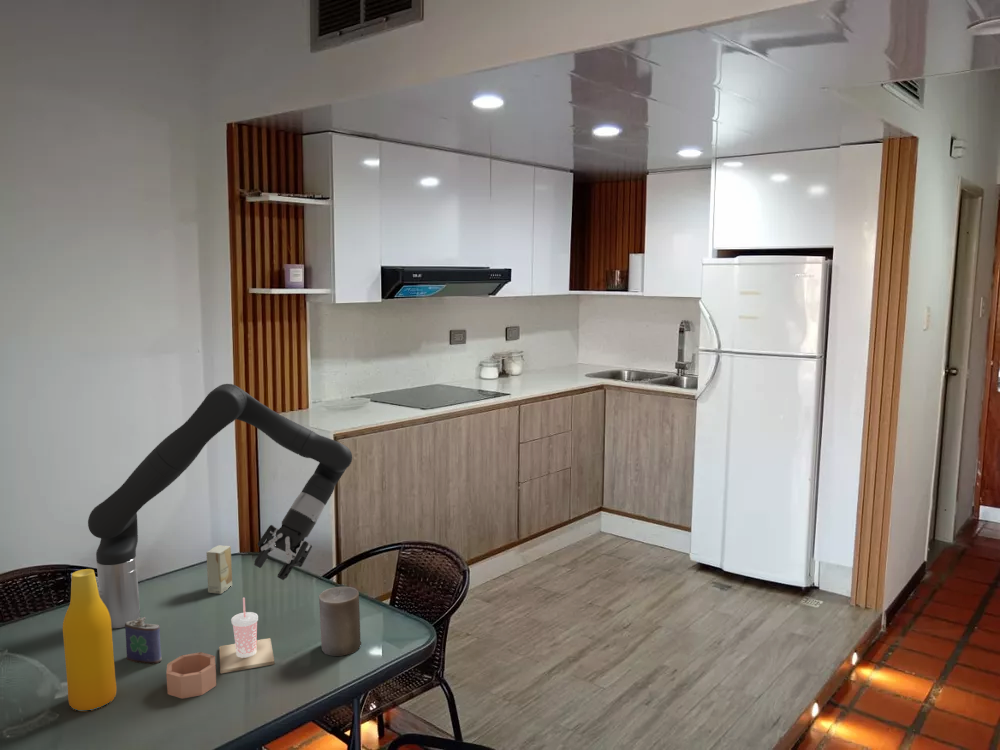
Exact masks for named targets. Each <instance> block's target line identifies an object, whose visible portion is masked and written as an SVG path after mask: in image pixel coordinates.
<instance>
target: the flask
mask: <svg viewBox="0 0 1000 750" xmlns="http://www.w3.org/2000/svg"><path fill="white" fill-rule="evenodd" d="M136 620H137V621H135V620H133V621H129V622H126V624H125V627H124V629H125V645H126V646H125V647H126V649H125V650H126V660H127V661H129V662H133V663H138V664H139V663H140V664H144V665H145V664H147V665H157V664H160V662H161V661H162V648H161V646H162V645H161V634H160V633H161V632H160V631H161V630H160V629H161V627H160V625H159V624H155V623H154V624H153V623H145V620H146V617H145V616H143V617H140V618H138V619H136Z"/></svg>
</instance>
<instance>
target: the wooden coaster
mask: <svg viewBox="0 0 1000 750" xmlns="http://www.w3.org/2000/svg"><path fill="white" fill-rule="evenodd" d="M274 656H275V655H274V651H273V646H272V639H271V638H270V637H269V638H261V639H257V648H256V654H254V655H253V656H250V657H246V658H241V657H238V656H237V655H236V647H235V643H232V644H226V645H220V646H219V667H220V668H219V670H220V674H225V673H231V672H237V671H238V672H239V671H243V670H244V671H245V670H250V669H254V668H261V667H266V666H273V665H275V657H274Z"/></svg>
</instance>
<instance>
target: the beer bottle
mask: <svg viewBox="0 0 1000 750" xmlns="http://www.w3.org/2000/svg"><path fill="white" fill-rule="evenodd" d="M97 583H98V582H97V577H96V574H95V570H94V569H92V568H86V569H83V568H82V569H79V570H76V571H73V572H72V573H71V583H70V584H71V586H70V602H69V605H68V608H67V610H66V612H65V615H64V617H63V620H62V636H63V648H64V649H63V650H64V658H65V659H64V660H65V661H64V662H65V669H66V670H65V673H66V682H67V685H66V686H67V699H68V704H69V707H70V706H71V707H72V708H74V709H77V710H90V709H94V708H97V707H101V706H103V705H105V704H107V703H109V702H110V701H111V702H112V701H113V700H114V699H115V698H116V695H117V681H116V667H115V658H114V657H115V656H114V643H113V641H114V640H113V628H112V627H111V617H110V614H109V611H108V609H107V607H106V606H105V604H104V603H103V601H102V600H101V598H100V596H99V592H98V591H99V586H98V584H97ZM114 697H115V698H114ZM111 702H110V703H111ZM110 703H109V704H110ZM107 705H108V704H107ZM71 707H70V708H71ZM72 708H71V709H72ZM101 708H102V707H101ZM74 709H73V710H74Z"/></svg>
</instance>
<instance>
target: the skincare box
mask: <svg viewBox="0 0 1000 750" xmlns="http://www.w3.org/2000/svg"><path fill="white" fill-rule="evenodd" d="M232 569H233V568H232V548H231V546H230V545H220V544H217V545H216V546H214V547H213V548H211V549H210V550H208V551H206V571H207V593H209V594H218V595H221V594H223V593H224V591H225V592H226V591H227V590H228V588H229V587H230V586H231V587H233V570H232ZM231 587H230V588H231ZM230 588H229V589H230Z"/></svg>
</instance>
